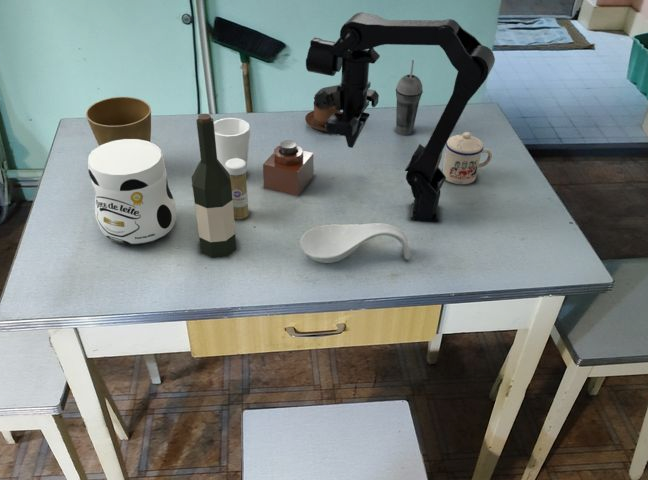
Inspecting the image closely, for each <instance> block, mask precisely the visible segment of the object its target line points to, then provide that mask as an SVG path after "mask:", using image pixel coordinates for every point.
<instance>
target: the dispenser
mask: <svg viewBox="0 0 648 480" xmlns="http://www.w3.org/2000/svg"><path fill="white" fill-rule="evenodd" d="M262 170H263V172H262V173H263V174H262V175H263V188H264V189H266V190H271V191H276V192H280V193H283V194H288V195H292V196H296V197H298V196H299V195H300V194H301V192H302V191H303V190H304V189H305V187H306V186H307V185H308V184H309V182H310V181H311V180H312V179H313V178H314V152H312V151H311V152H310V151H305V150H304V149H303V148H302V147H301V146H299V145H297V153H296V154H295V155H292V156H285V155H282V154H281V153H280V145H277V146H276V147H275V148H274V149H273V153H272V154H271V155H270V156H269V157H268V158H267V160H265V162H264V163H263V164H262Z"/></svg>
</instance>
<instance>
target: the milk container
mask: <svg viewBox="0 0 648 480" xmlns="http://www.w3.org/2000/svg"><path fill="white" fill-rule="evenodd" d="M165 165H166V164H165V159H164V155H163V152H162V150H161V148H160V147H158V145H157V144H155V143H153V142H151V141H150V142H149V141H144V140H139V139H122V140H116V141H111V142H108V143H105V144H102V145H100V146H99V145H98V146H96V147H95V148H93V149H92V151H91V152H90V153H89V154H88V157H87V169H88V174H89V179H90V182H91V186H92V189H93V193H94V199H95V201H94V217H95V220H96V222H97V226H98V227H99V229H100V232H101V233H102V234H103V235H104V236H105V237H106V238H107V239H109V240H111V241H113V242H114V243H119V244H123V245H128V246H131V245H133V246H134V245H137V246H138V245H140V246H141V245H144V244H150V243H153V242H155V241H157V240H160V239H162V238H163V237H166V235H168V234H169V233H170V232H171V231H172V230H173V228H174V226H175V223H176V220H177V206H176V201H175V198H174V196H173V194H172V192H171V190H170V187H169V182H168V173H167V169H166V166H165Z"/></svg>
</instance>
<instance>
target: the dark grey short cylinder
mask: <svg viewBox="0 0 648 480" xmlns="http://www.w3.org/2000/svg"><path fill="white" fill-rule="evenodd" d="M279 146H280V153H281V154H282V155H285V156H292V155H295V154H296V153H297V146H298V144H297V142H296V141H294V140H288V139H287V140H283V141H280V143H279Z"/></svg>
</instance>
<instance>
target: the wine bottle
mask: <svg viewBox="0 0 648 480" xmlns="http://www.w3.org/2000/svg"><path fill="white" fill-rule="evenodd" d="M195 120H196V130H197V137H198V138H197V139H198V146H199V155H200V161H199V163H198V164H197V166H196V167H195V170H194V171H193V173H192V175H191V187H192V192H193V193H192V194H193V200H194V208H195V216H196V217H195V218H196V223H197V232H198V239H199V246H200V247H199V248H200V254H203V255H205V256H207V257H209V258H212V259H218V258H227V257H229V256H230V255H232V254H233V253H234V252H235V251H237V249H238V248H237V247H238V246H237V238H236V237H237V236H236V225H235V219H234V211H233V199H232V188H231V179H230V174H229V173H228V171H227V170H226V169H225V168H224V167H223V165H222V164H221V163H220V162H219V160H218V159H217V152H216V142H215V131H214V122H215V121H214V118H212V116H211V114H210V113H209V114H208V113H200V114H199V115H198V116H197V119H195Z"/></svg>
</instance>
